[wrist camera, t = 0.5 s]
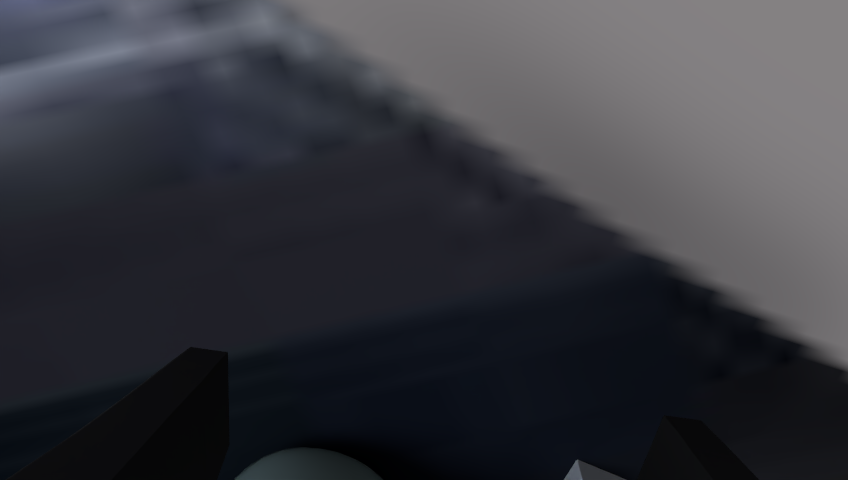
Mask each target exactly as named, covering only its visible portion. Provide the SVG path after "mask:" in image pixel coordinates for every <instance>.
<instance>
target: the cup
mask: <svg viewBox="0 0 848 480" xmlns="http://www.w3.org/2000/svg"><path fill="white" fill-rule="evenodd" d="M234 480H383V479H382V477H381V476H380V475H379V474H377V473H376V472H375V471H373V470H372V469H371V468H370V467H368V466H367V465H365V464H363V463H361V462H360V461H358V460H356V459H354V458H352V457H350V456H347V455H344V454H342V453H339V452H336V451H331V450H327V449H322V448H310V447H298V448H287V449H284V450H280V451H277V452H274V453H271V454H269V455H267V456H265V457H263V458H261V459H259V460H258V461H256V462H254V463H252V464H251V465H250V466H249V467H247V468H246V469H245V470H244V471H242V472H241V473H240V474H239V475H238V476H237V477H236V478H235V479H234Z"/></svg>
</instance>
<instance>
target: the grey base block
mask: <svg viewBox="0 0 848 480" xmlns="http://www.w3.org/2000/svg"><path fill="white" fill-rule="evenodd" d="M564 480H626V479H624V478H621V477H619V476H616V475H614V474H611V473H609V472H607V471H604V470H602V469H599V468H597V467H594V466H592V465H590V464H587V463H585V462H582V461H580V460H576V462H575V463H574V465H573V466H572V468H571V470H570V471H569V473H568V474H567V476H566V477H565V479H564Z"/></svg>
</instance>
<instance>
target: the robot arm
mask: <svg viewBox="0 0 848 480" xmlns="http://www.w3.org/2000/svg"><path fill="white" fill-rule="evenodd" d="M228 447H229V398H228V352H222V351H215V350H208V349H201V348H194V347H190V348H189V349H187V350H186V351H184V352H183V353H182V354H180V355H179V356H178V357H176V358H175V359H174V360H172V361H171V362H170V363H168V364H167V365H166V366H164V367H163V368H162V369H160V370H159V371H158V372H157V373H155V374H154V375H153V376H151V377H150V378H149V379H147V380H146V381H145V382H143V383H142V384H141V385H140V386H138V387H137V388H136V389H134V390H133V391H132V392H130V393H129V394H128V395H126V396H125V397H124V398H122V399H121V400H120V401H118V402H117V403H116V404H114V405H113V406H112V407H110V408H109V409H107V410H106V411H105V412H103V413H102V414H101V415H99V416H98V417H97V418H95V419H94V420H92V421H91V422H90V423H88V424H87V425H86V426H84V427H83V428H81V429H80V430H79V431H77V432H76V433H75V434H73V435H72V436H70V437H69V438H67V439H66V440H65V441H63V442H62V443H60V444H59V445H57V446H56V447H54V448H53V449H51V450H50V451H48V452H47V453H45V454H44V455H42V456H41V457H39V458H38V459H36V460H35V461H33V462H32V463H30V464H29V465H27V466H26V467H24V468H23V469H21V470H20V471H18V472H17V473H15V474H14V475H12V476H11V477H10V478H8V479H6V480H217V478H218V475H219V472H220V470H221V467H222V464H223V461H224V458H225V455H226V453H227V450H228ZM637 480H759V479H758V478H757V477H756V476H755V475H754V474H753V473H752V472H751V471H750V470H749V469H748V468H747V467H746V466H745V465H744V464H743V463H742V462H741V461H740V459H739V458H738V457H737V456H736V455H735V454H734V453H733V452H732V451H731V450H730V449H729V448H728V447H727V446H726V445H725V444H724V443H723V442H722V441H721V440H720V439H719V438H718V437H717V436H716V435H715V434H714V433H713V432H712V431H711V430H710V429H709V428H708V427H707V426H706V425H705V424H704V423H703V422H702V421H700V420H693V419H686V418H679V417H672V416H665V415H664V416H663V419H662V421H661V424H660V426H659V428H658V431H657V433H656V435H655V438H654V440H653V443H652V445H651V447H650V450H649V452H648V455H647V457H646V459H645V462H644V464H643V466H642V469H641V471H640V474H639V476H638V478H637Z"/></svg>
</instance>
